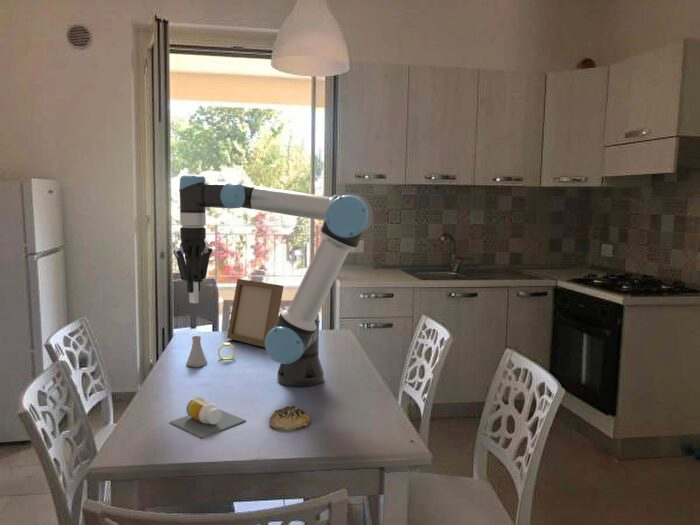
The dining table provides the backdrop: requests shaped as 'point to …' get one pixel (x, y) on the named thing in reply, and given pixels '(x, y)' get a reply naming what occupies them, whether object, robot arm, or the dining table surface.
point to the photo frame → (254, 311)
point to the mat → (207, 429)
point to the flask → (196, 354)
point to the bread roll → (289, 418)
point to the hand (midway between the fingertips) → (193, 302)
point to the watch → (226, 345)
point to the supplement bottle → (203, 411)
